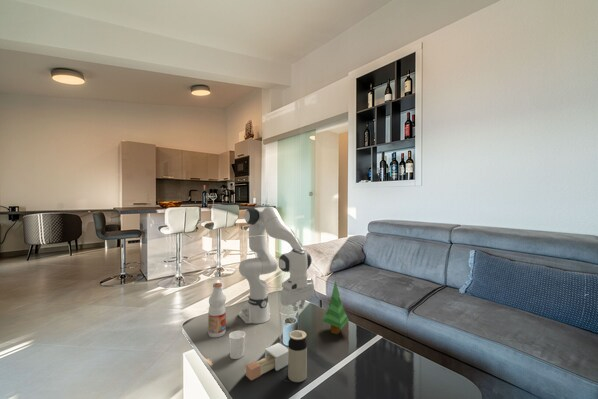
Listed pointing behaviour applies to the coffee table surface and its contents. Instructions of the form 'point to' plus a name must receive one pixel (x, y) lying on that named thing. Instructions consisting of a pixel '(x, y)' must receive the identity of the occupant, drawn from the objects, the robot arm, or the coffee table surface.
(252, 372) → the block
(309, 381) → the coffee table surface
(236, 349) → the white cup
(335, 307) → the decorative tree
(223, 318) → the fruit juice
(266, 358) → the rod
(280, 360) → the tunnel
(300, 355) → the travel mug
